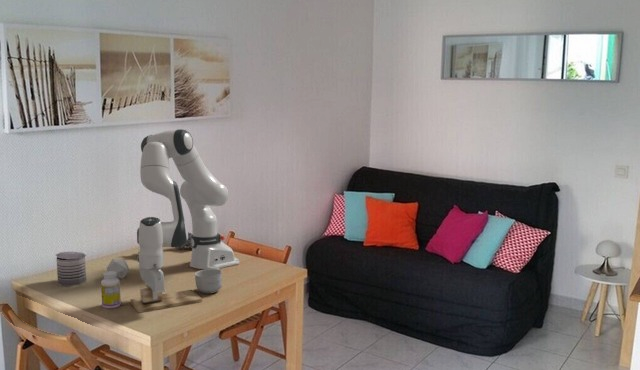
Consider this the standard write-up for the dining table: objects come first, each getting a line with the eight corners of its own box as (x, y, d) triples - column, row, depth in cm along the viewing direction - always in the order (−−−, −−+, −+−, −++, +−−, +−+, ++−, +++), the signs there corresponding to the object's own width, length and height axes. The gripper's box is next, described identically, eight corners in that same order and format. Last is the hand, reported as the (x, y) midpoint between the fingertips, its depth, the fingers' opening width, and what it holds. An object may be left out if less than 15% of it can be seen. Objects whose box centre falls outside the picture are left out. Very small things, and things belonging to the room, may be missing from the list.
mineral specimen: (166, 242, 310) (179, 224, 311) (175, 244, 320) (187, 227, 320) (186, 258, 307) (199, 239, 307) (194, 259, 316) (207, 241, 317)
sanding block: (159, 297, 241) (158, 286, 240) (162, 300, 238) (162, 289, 237) (140, 300, 238) (140, 289, 237) (143, 303, 234) (143, 292, 234)
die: (116, 283, 264) (130, 263, 265) (99, 272, 264) (113, 252, 266) (122, 284, 272) (135, 265, 273) (106, 273, 273) (119, 254, 274)
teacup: (209, 297, 247) (209, 277, 245) (189, 292, 252) (188, 273, 251) (232, 287, 258) (232, 269, 257) (212, 283, 264) (212, 264, 262)
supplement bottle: (104, 302, 240) (103, 270, 237) (122, 302, 240) (121, 269, 238) (100, 309, 233) (98, 275, 231) (118, 308, 234) (117, 275, 231)
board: (191, 292, 252) (191, 289, 252) (201, 301, 242) (201, 298, 242) (130, 302, 240) (130, 299, 240) (138, 312, 230) (138, 309, 230)
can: (65, 277, 269) (63, 249, 267) (91, 277, 268) (90, 250, 266) (52, 285, 258) (50, 257, 256) (79, 286, 257) (78, 258, 255)
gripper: (168, 267, 228) (169, 304, 231) (152, 253, 246) (153, 287, 248) (151, 269, 225) (152, 307, 227) (136, 255, 242) (137, 290, 245)
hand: (152, 296), depth 238 cm, fingers closed on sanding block, 4 cm apart
